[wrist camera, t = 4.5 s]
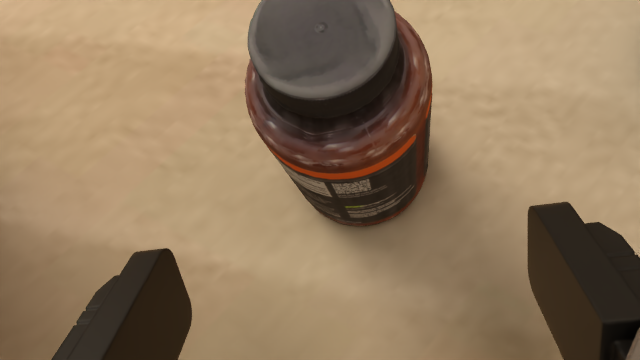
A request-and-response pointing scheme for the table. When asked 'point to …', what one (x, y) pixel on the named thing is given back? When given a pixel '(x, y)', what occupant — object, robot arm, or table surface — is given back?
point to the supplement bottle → (342, 103)
